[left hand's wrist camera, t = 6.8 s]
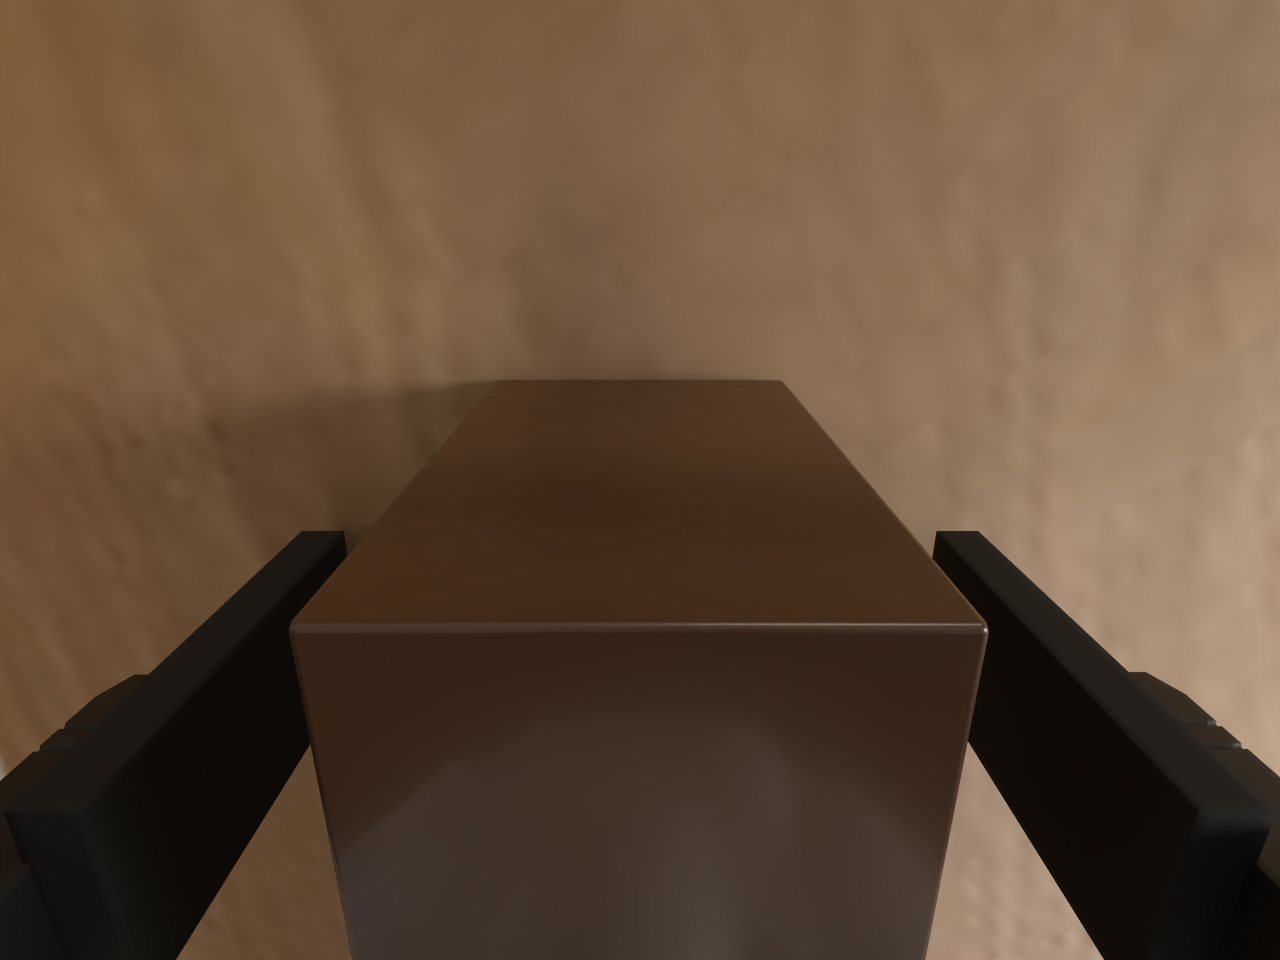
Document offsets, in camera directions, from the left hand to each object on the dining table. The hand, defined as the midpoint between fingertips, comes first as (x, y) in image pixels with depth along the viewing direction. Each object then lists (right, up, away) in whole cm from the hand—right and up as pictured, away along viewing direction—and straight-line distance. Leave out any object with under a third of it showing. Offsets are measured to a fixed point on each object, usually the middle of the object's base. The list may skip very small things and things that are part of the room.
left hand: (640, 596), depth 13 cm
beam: (0, -11, +5) cm, 12 cm away
